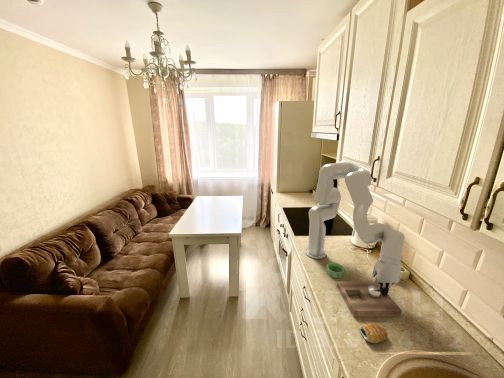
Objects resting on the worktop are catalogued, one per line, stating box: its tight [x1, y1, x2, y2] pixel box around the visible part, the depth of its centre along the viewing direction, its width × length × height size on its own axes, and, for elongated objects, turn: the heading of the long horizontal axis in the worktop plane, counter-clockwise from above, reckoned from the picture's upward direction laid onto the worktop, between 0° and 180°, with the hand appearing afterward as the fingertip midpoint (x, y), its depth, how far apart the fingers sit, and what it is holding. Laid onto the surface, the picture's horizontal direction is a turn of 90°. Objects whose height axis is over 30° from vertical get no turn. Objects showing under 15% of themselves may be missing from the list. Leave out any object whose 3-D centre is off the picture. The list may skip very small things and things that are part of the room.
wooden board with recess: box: [336, 280, 403, 318], centre depth 98 cm, size 18×20×3 cm
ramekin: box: [326, 262, 345, 279], centre depth 116 cm, size 9×9×4 cm
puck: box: [367, 286, 381, 299], centre depth 97 cm, size 5×5×3 cm
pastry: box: [358, 323, 388, 344], centre depth 80 cm, size 9×7×4 cm
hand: (383, 293), depth 98 cm, fingers closed
